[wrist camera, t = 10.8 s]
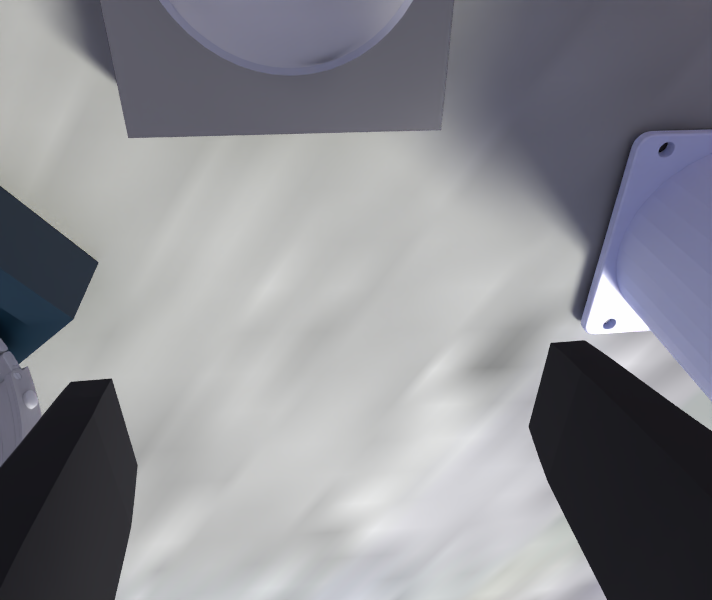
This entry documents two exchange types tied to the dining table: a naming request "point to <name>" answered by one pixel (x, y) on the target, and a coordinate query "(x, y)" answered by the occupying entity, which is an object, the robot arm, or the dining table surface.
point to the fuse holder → (275, 80)
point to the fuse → (287, 30)
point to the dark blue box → (32, 307)
